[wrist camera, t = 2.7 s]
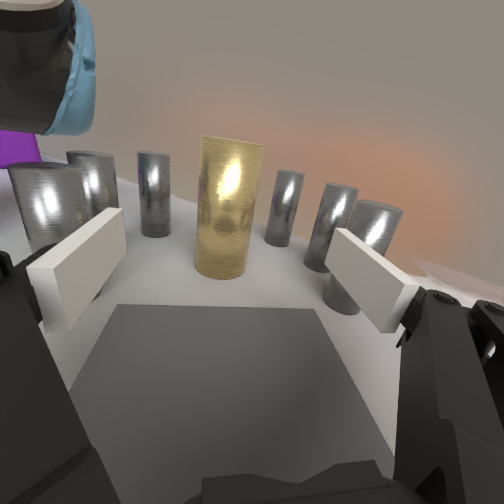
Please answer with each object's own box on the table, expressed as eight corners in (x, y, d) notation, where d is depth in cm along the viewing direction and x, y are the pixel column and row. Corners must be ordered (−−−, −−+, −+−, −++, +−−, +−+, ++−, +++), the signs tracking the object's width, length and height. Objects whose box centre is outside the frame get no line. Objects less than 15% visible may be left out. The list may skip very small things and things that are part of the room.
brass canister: (184, 265, 26) (187, 133, 20) (217, 249, 31) (227, 137, 25) (224, 286, 24) (241, 143, 18) (254, 266, 28) (274, 146, 22)
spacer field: (27, 308, 18) (-22, 166, 13) (114, 223, 33) (105, 145, 29) (372, 315, 23) (419, 215, 19) (309, 239, 38) (326, 175, 34)
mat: (-179, 886, 5) (-209, 898, 4) (118, 312, 19) (117, 304, 18) (491, 669, 8) (507, 665, 7) (311, 315, 22) (313, 309, 21)
